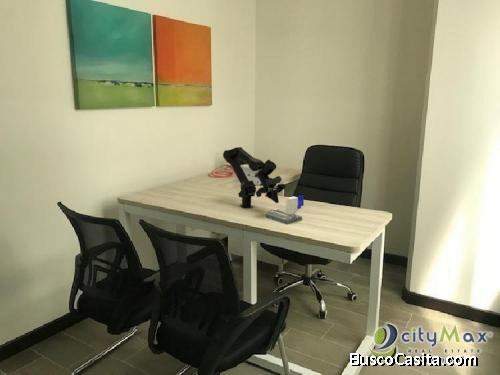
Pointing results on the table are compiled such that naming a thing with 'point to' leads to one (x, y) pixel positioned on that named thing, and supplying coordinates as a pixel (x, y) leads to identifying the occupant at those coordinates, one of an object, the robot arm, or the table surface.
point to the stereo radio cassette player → (250, 174)
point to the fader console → (283, 217)
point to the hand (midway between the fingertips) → (277, 202)
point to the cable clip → (300, 201)
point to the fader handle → (291, 206)
